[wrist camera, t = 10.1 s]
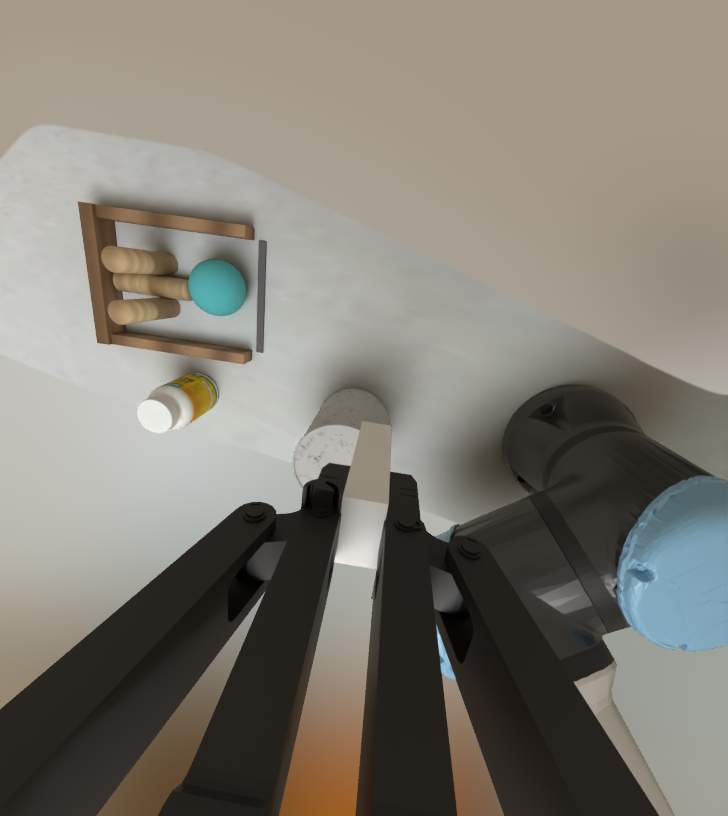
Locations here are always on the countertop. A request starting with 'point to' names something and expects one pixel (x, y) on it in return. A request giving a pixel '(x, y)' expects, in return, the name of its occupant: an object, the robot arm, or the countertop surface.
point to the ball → (217, 287)
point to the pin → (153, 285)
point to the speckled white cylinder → (335, 432)
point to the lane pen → (97, 237)
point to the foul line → (261, 296)
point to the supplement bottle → (178, 403)
